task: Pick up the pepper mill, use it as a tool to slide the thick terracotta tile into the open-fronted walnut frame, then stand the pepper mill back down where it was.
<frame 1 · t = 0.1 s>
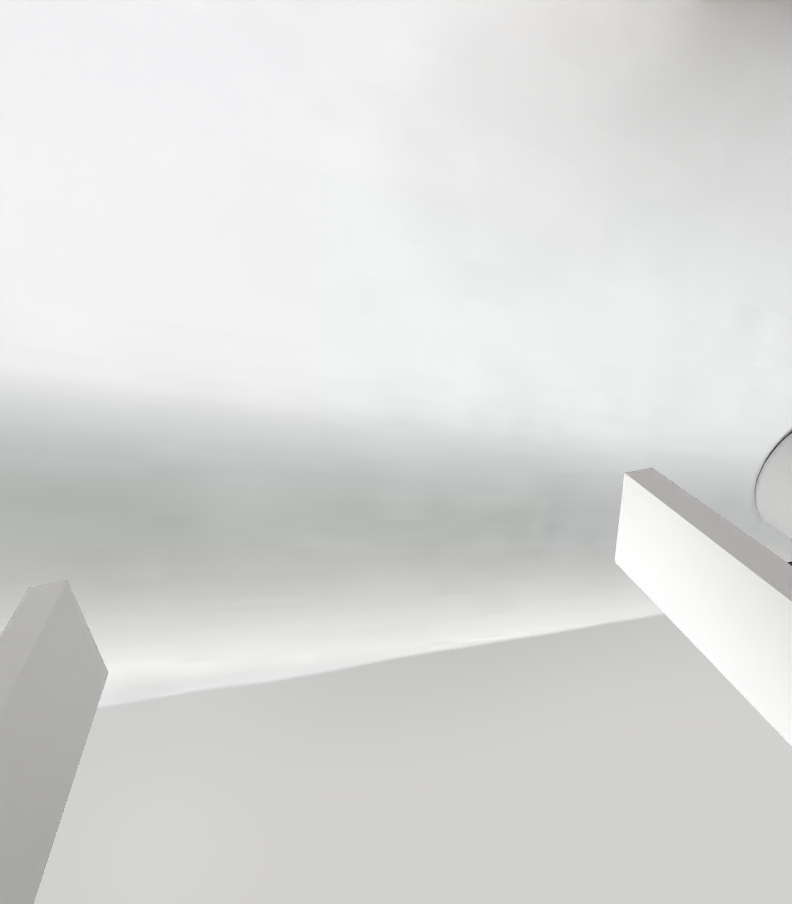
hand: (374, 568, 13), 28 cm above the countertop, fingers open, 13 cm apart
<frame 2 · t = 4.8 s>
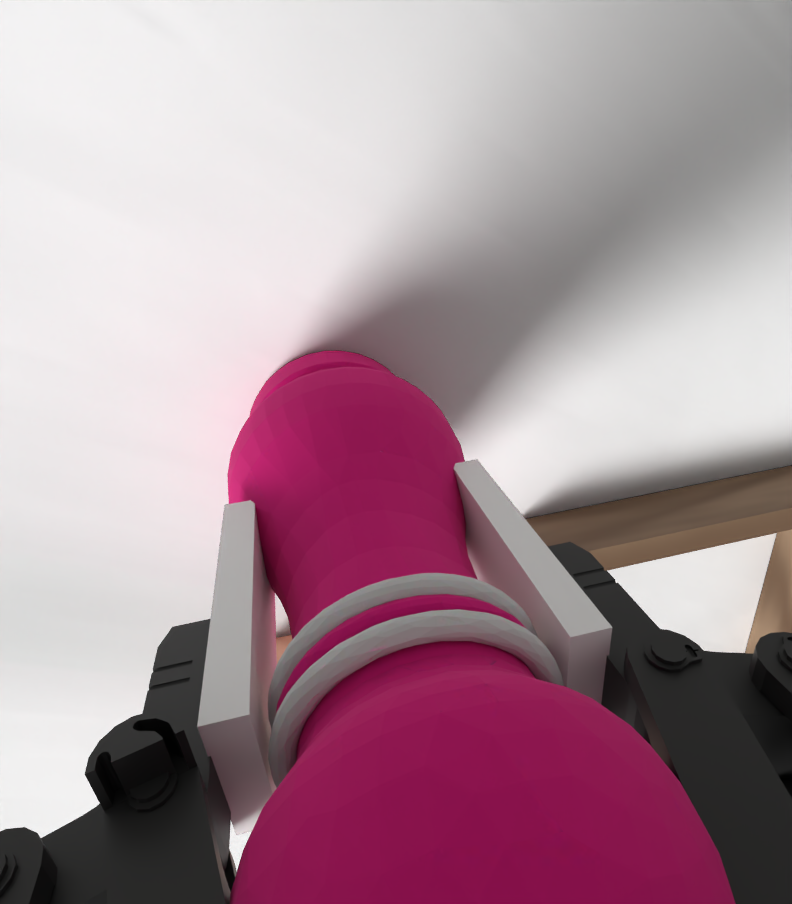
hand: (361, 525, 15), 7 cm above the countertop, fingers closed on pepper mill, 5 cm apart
pepper mill: (332, 428, 21), on the countertop, touching gripper
walnut frame: (646, 622, 29), on the countertop
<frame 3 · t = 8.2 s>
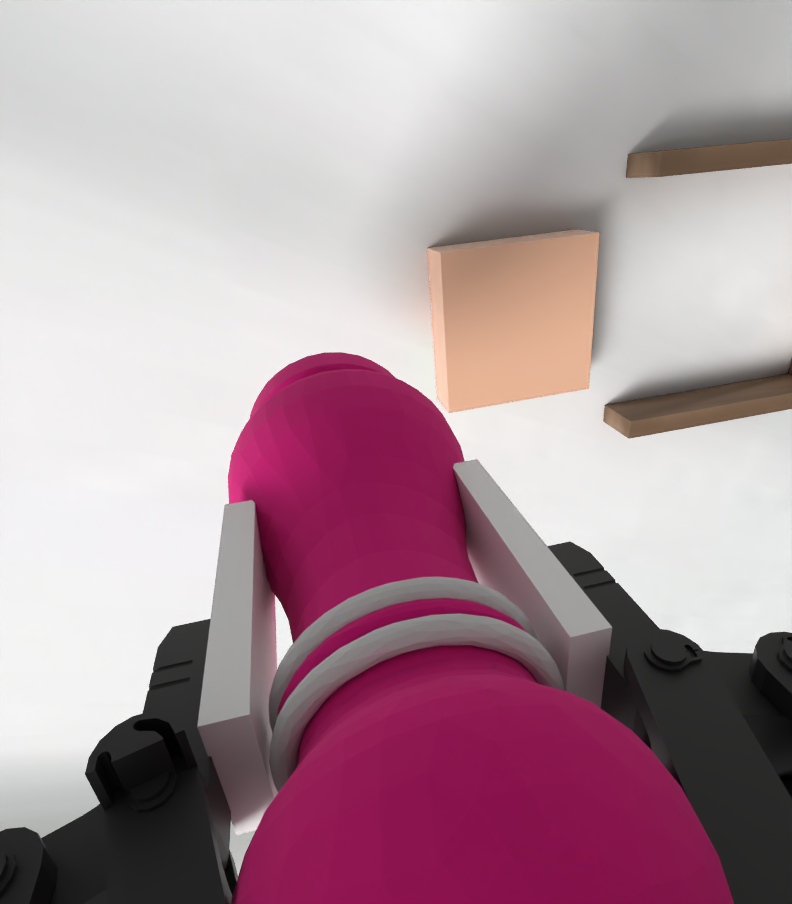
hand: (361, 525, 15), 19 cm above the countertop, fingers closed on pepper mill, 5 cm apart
terracotta tile: (500, 315, 34), on the countertop
pepper mill: (332, 429, 21), point 12 cm above the countertop, touching gripper
walnut frame: (720, 287, 36), on the countertop
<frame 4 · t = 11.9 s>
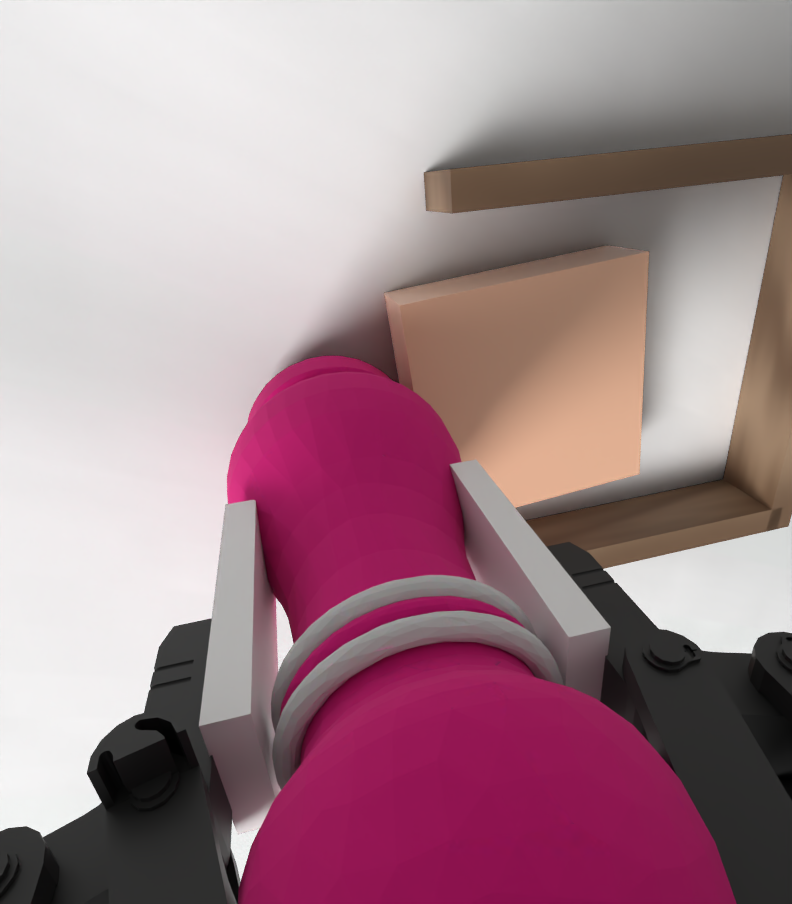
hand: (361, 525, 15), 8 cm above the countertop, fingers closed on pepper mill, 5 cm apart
terracotta tile: (503, 376, 23), on the countertop
pepper mill: (330, 432, 21), point 1 cm above the countertop, touching gripper
walnut frame: (607, 367, 24), on the countertop
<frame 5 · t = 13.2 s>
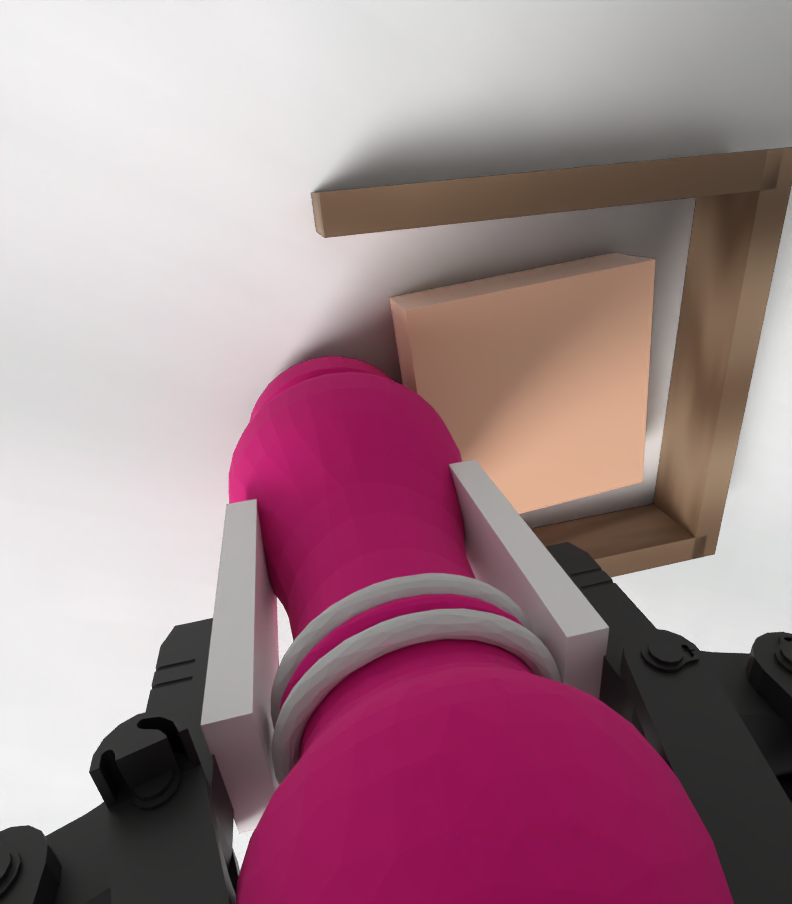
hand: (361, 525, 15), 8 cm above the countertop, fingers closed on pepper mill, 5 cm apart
terracotta tile: (507, 382, 23), on the countertop
pepper mill: (331, 433, 21), point 1 cm above the countertop, touching gripper
walnut frame: (522, 391, 23), on the countertop
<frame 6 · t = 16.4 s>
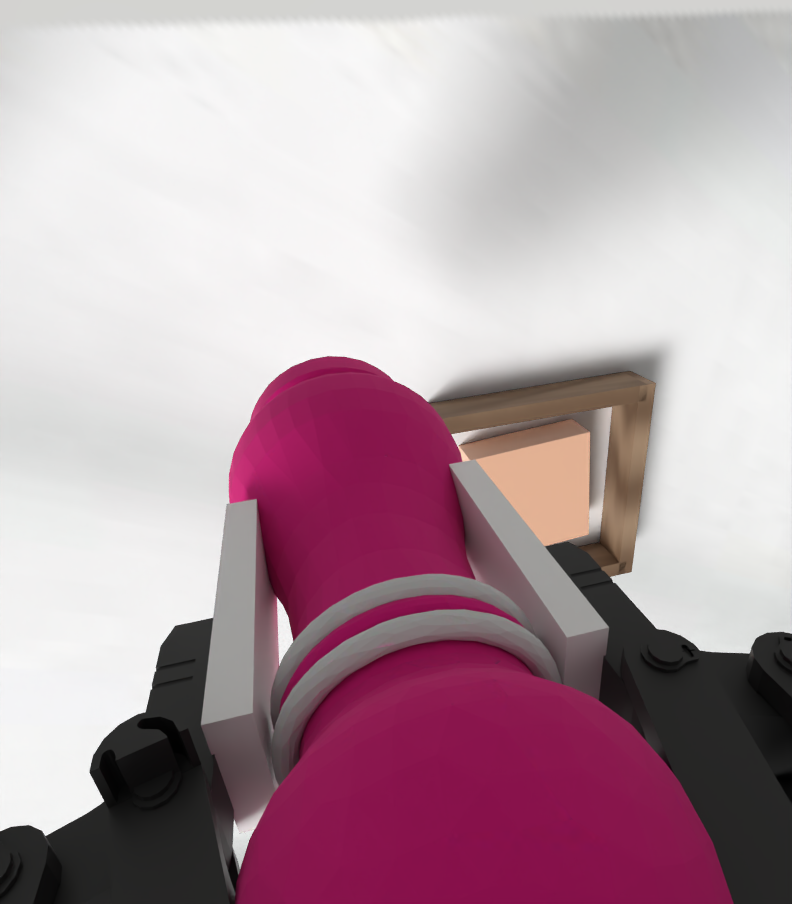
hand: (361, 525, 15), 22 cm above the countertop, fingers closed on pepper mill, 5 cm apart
terracotta tile: (516, 481, 43), on the countertop
pepper mill: (332, 433, 21), point 15 cm above the countertop, touching gripper
walnut frame: (524, 486, 43), on the countertop
when the fingers open (8 cm above the countertop, at t = 19.2 s): pepper mill drops 1 cm, on the countertop.
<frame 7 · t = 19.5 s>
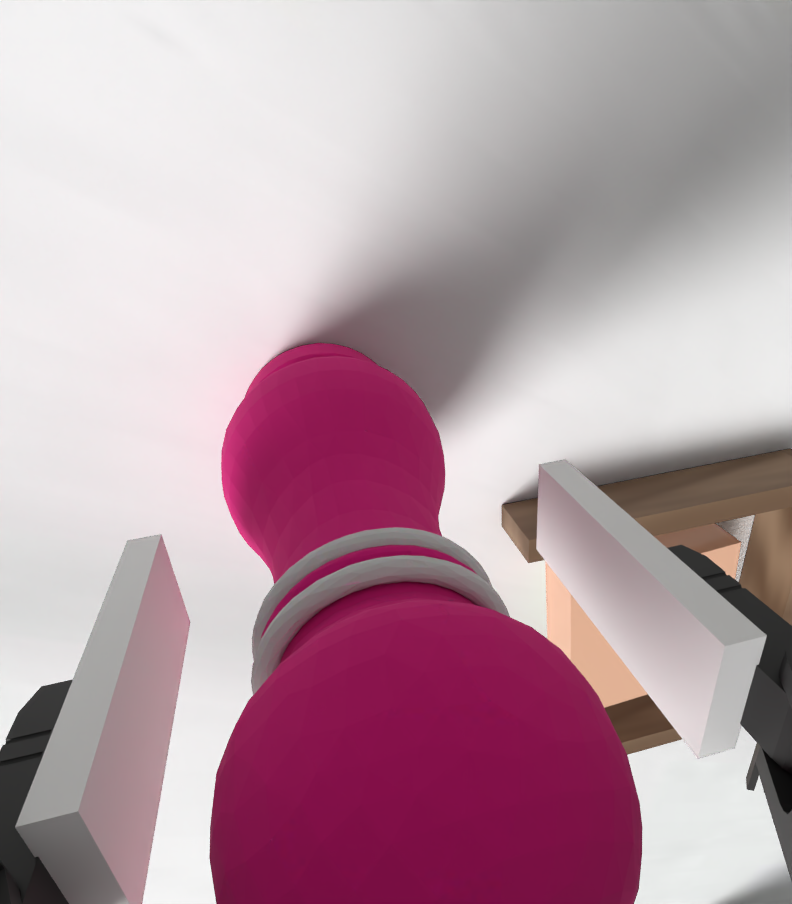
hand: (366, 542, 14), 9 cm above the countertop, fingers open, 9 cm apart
terracotta tile: (618, 596, 31), on the countertop
pepper mill: (321, 416, 22), on the countertop
walnut frame: (630, 604, 31), on the countertop
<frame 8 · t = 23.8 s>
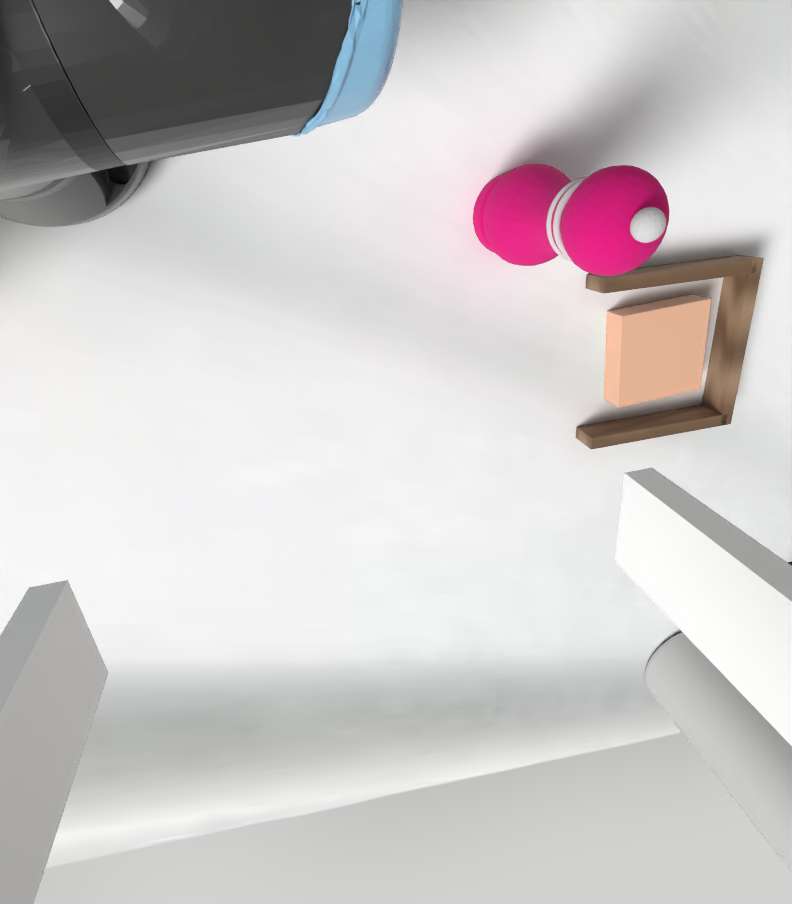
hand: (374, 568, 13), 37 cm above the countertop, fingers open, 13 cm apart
terracotta tile: (644, 347, 55), on the countertop
pepper mill: (506, 214, 47), on the countertop
cylinder vase: (681, 659, 77), on the countertop
walnut frame: (650, 350, 55), on the countertop
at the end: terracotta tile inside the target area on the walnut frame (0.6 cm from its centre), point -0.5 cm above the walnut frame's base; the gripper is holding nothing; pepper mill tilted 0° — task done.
